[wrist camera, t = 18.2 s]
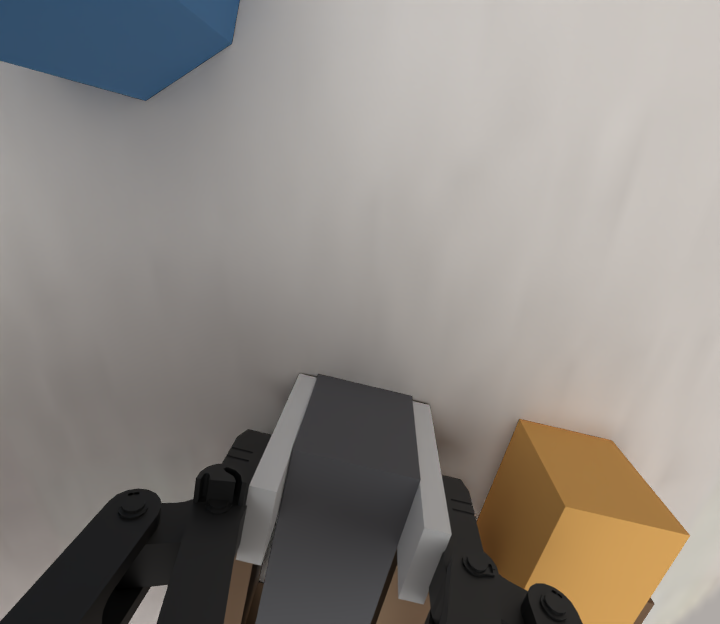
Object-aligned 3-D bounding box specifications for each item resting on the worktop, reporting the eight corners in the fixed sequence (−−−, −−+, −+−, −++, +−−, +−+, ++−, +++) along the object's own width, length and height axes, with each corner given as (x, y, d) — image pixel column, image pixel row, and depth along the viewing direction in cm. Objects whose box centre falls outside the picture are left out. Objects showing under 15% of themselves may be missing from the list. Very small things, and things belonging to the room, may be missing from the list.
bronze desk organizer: (231, 597, 22) (201, 681, 18) (260, 440, 19) (230, 505, 15) (524, 664, 22) (551, 759, 19) (603, 521, 19) (654, 603, 15)
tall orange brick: (442, 598, 21) (458, 720, 17) (518, 416, 18) (565, 506, 13) (519, 615, 21) (556, 742, 17) (609, 438, 18) (689, 535, 13)
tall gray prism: (275, 564, 21) (243, 678, 16) (318, 373, 17) (292, 449, 13) (353, 582, 21) (343, 701, 16) (412, 395, 18) (420, 479, 13)
